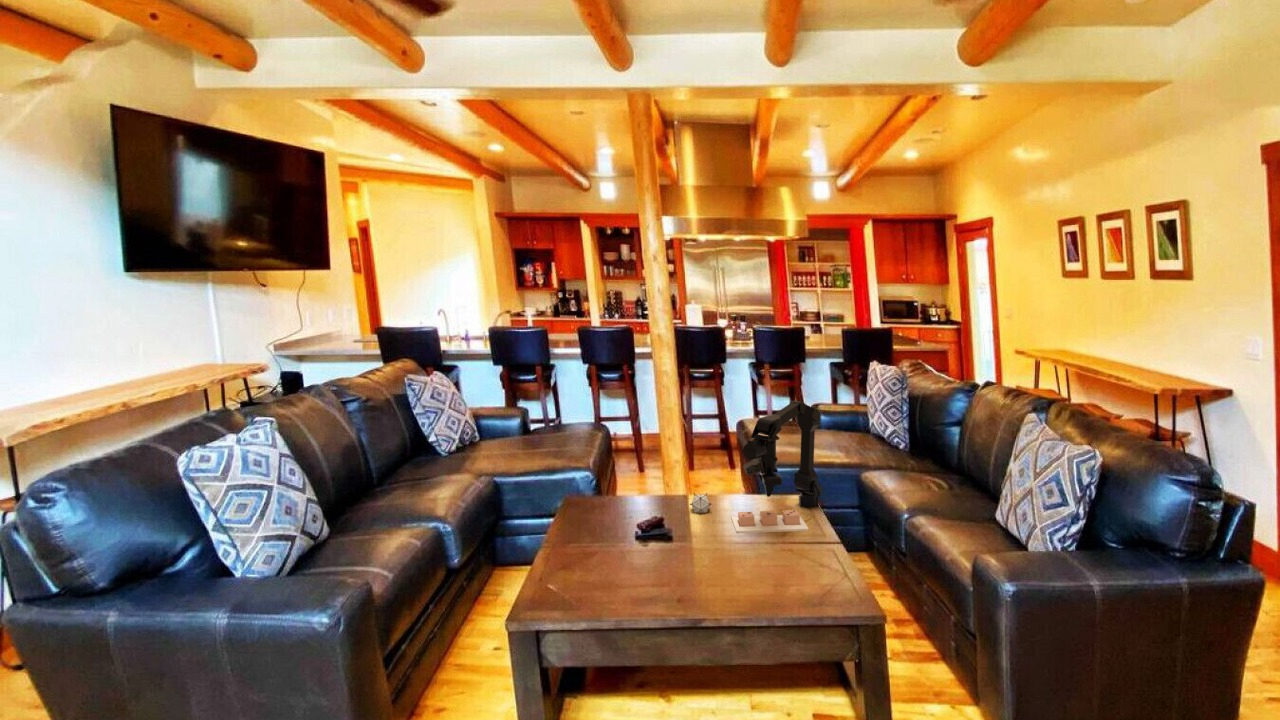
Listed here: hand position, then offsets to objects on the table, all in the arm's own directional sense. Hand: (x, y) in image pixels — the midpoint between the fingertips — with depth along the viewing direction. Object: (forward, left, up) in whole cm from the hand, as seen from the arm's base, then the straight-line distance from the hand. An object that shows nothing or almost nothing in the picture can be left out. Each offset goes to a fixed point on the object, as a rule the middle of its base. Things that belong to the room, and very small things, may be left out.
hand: (768, 496), depth 215 cm
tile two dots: (+8, 0, -10) cm, 13 cm away
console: (0, 0, -12) cm, 12 cm away
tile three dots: (-8, 0, -10) cm, 13 cm away
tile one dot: (0, 0, -10) cm, 10 cm away
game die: (+23, -15, -12) cm, 30 cm away
